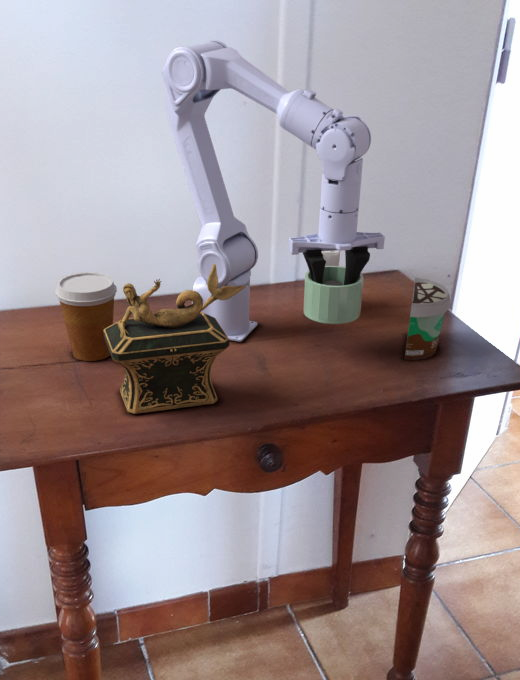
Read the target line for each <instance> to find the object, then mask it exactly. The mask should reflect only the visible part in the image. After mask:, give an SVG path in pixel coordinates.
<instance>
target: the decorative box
mask: <svg viewBox="0 0 520 680" xmlns="http://www.w3.org/2000/svg"><path fill="white" fill-rule="evenodd" d="M160 280H161V279H160V278H156V281H155V280H153V283H154V284H155V285H154V286H152V287H151V288H150V289H148V290H147V291H146V292H143V293H142V294H141V295H138V293H137V290H136V287H135V286H134V285H133V284H132V283H125V284H124V285H123V288H122V292H123V294H124V296H125V299H126V302H127V304H128V305H129V306H128V307H126V308H127V309H126V311H125V314H124V315H123V318H122V319H119V320H118V321H116V322H113V324H112V325H111V326H109V327H107V328H105V329H104V330H103V334H104V338H105V341H106V343H107V346H108V349H109V351H110V354H111V355H110V356H111V359H112V361H114V362H115V363H117V364H118V365H119V366H120V367H122V368H123V369H124V378H123V381H122V384H121V386H120V389H119V393H120V394H121V398H122V400H123V403H124V406H125V408H126V412H127V413H131V414H135V415H136V414H137V415H139V414H144V413H152V412H160V411H167V410H168V411H169V410H175V409H182V408H189V407H197V406H205V405H213V404H215V403H216V402H218V396H217V393H216V390H215V388H214V386H213V382H212V376H211V371H212V366H213V363H214V361H215V359H217V357H218V356H219V355H220V354H221V353H223V352H224V351H225V350H226V349H228V348H229V347H230V340H229V338H228V337H227V335H226V334H225V332H224V331H223V329H222V327H221V326H220V324H219V323H218V321H217V320H216V318H214V317H212V316H210V315H207V314H205V313H203V312H201V311H203V310H204V309H205V308H206V307H207V306H208V305H210V304H211V303H212V302H214V301H215V300H217V299H219V300H227V299H229V298H231V297H232V296H234V295H235V294H237V293H238V292H239V291H241V290H242V289H244V288H245V287H246V286H224V287H222V288H220V289H218V288H217V287H218V277H217V269H216V264H215V263H214V264H213V267H212V270H211V272H210V275H209V277H208V280H207V287H208V290H209V292H210V293H211V296H210V297H209V298H208V300H207V301H206V302H205V303H204V305H203V299H202V297H201V295H200V294H199V293H198V292H196V291H193V289H186V290H184V291H182V292H180V293H179V295H178V296H177V298H176V300H175V304H176V307H177V308H163V309H160V310H157V312H155V313H153V311H152V309H151V306H150V303H149V301H148V298H150V297H151V296H152V295H153V294H154V293H156V292H157V291H158V290H159V289H160V287H161V283H162V280H161V281H160ZM187 301H191V304H189V305H187V306H186V305H185V303H187ZM192 302H193V304H192ZM131 315H132V316H133V317H130V316H131Z"/></svg>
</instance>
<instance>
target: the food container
mask: <svg viewBox="0 0 520 680" xmlns="http://www.w3.org/2000/svg"><path fill="white" fill-rule="evenodd" d="M450 308H451V295H450V292H449V290H448V288H447V287H446V286H445V285H443V284H441V283H439V282H437V281H434V280H431V279H427V278H422V277H414V284H413V289H412V299H411V306H410V314H409V315H410V316H409V321H408V329H407V337H406V345H405V352H404V353H405V354H404V360H423V359H427V358H430V357H432V356H433V355H435V354H436V352H437V348H438V344H439V339H440V334H441V331H442V327H443V322H444V318H445V313H446V312H447V311H449V310H450Z"/></svg>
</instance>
